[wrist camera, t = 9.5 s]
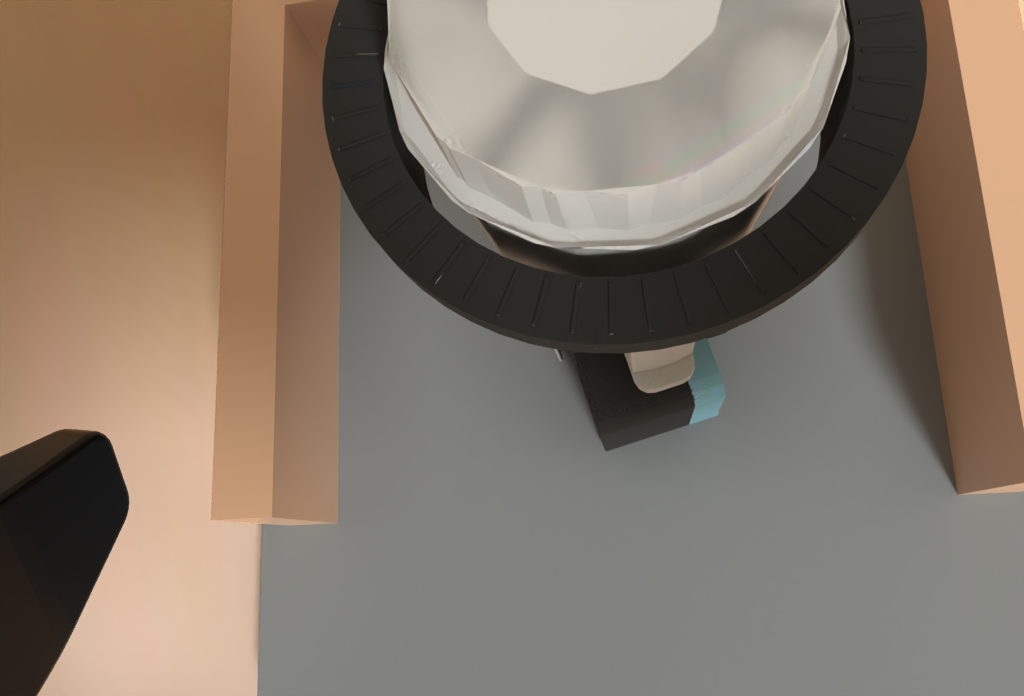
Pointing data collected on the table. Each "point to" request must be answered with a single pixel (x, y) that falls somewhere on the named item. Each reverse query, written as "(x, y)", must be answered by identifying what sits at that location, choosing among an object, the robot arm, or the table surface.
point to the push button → (621, 167)
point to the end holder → (640, 465)
